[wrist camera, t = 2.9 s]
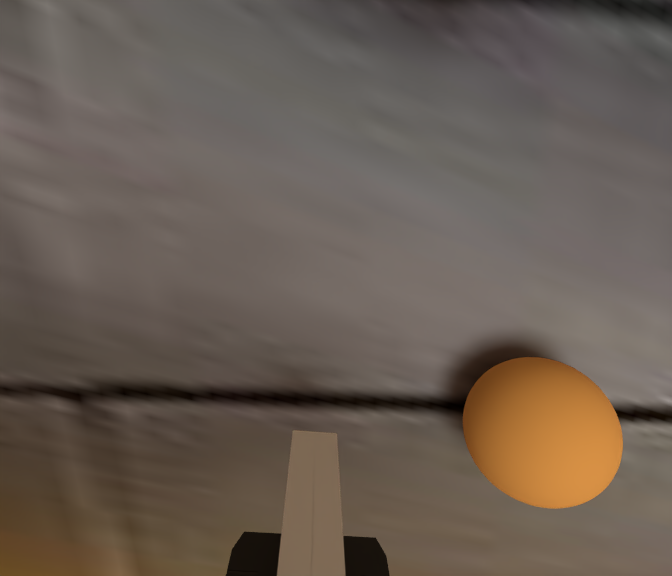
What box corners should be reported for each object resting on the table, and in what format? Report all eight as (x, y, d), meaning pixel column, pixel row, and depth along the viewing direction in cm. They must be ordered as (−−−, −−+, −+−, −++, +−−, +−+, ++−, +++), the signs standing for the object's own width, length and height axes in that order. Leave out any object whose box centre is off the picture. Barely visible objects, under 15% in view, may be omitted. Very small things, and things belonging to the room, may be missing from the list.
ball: (435, 438, 21) (481, 542, 15) (458, 330, 19) (520, 401, 13) (546, 444, 21) (633, 549, 15) (578, 340, 19) (689, 413, 14)
